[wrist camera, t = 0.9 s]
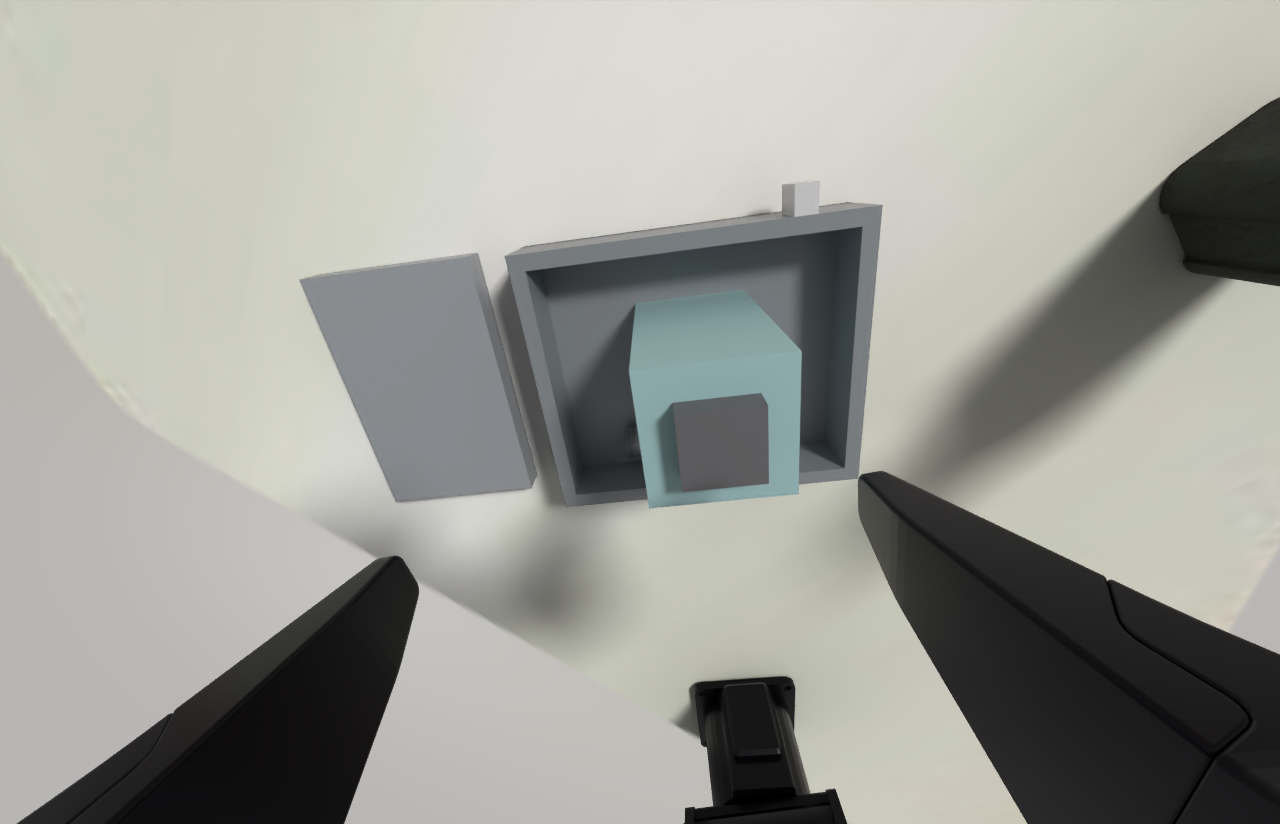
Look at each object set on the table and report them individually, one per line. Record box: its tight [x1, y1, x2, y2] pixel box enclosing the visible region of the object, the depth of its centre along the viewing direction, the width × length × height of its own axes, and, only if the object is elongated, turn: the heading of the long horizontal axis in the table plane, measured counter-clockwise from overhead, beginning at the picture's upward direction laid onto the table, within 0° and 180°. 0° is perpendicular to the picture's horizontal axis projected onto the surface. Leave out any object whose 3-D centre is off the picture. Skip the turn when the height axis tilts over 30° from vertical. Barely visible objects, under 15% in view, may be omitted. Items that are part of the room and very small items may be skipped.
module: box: [629, 290, 802, 508], centre depth 16 cm, size 4×4×9 cm
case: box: [505, 181, 882, 507], centre depth 19 cm, size 12×13×3 cm
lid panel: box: [299, 253, 537, 502], centre depth 21 cm, size 11×7×1 cm, turn 7°
